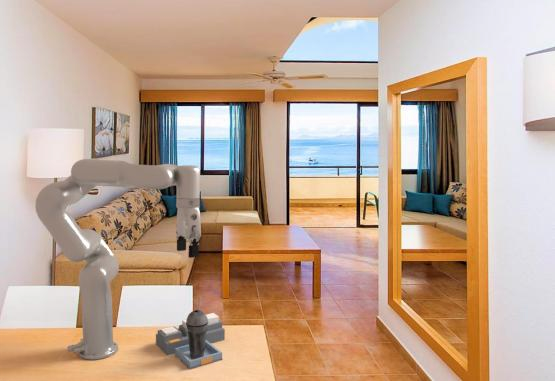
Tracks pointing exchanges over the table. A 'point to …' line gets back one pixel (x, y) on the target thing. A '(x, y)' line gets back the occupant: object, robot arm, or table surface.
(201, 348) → the beverage cup
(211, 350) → the tray
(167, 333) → the block
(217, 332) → the grey switch block
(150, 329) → the table surface
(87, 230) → the robot arm
